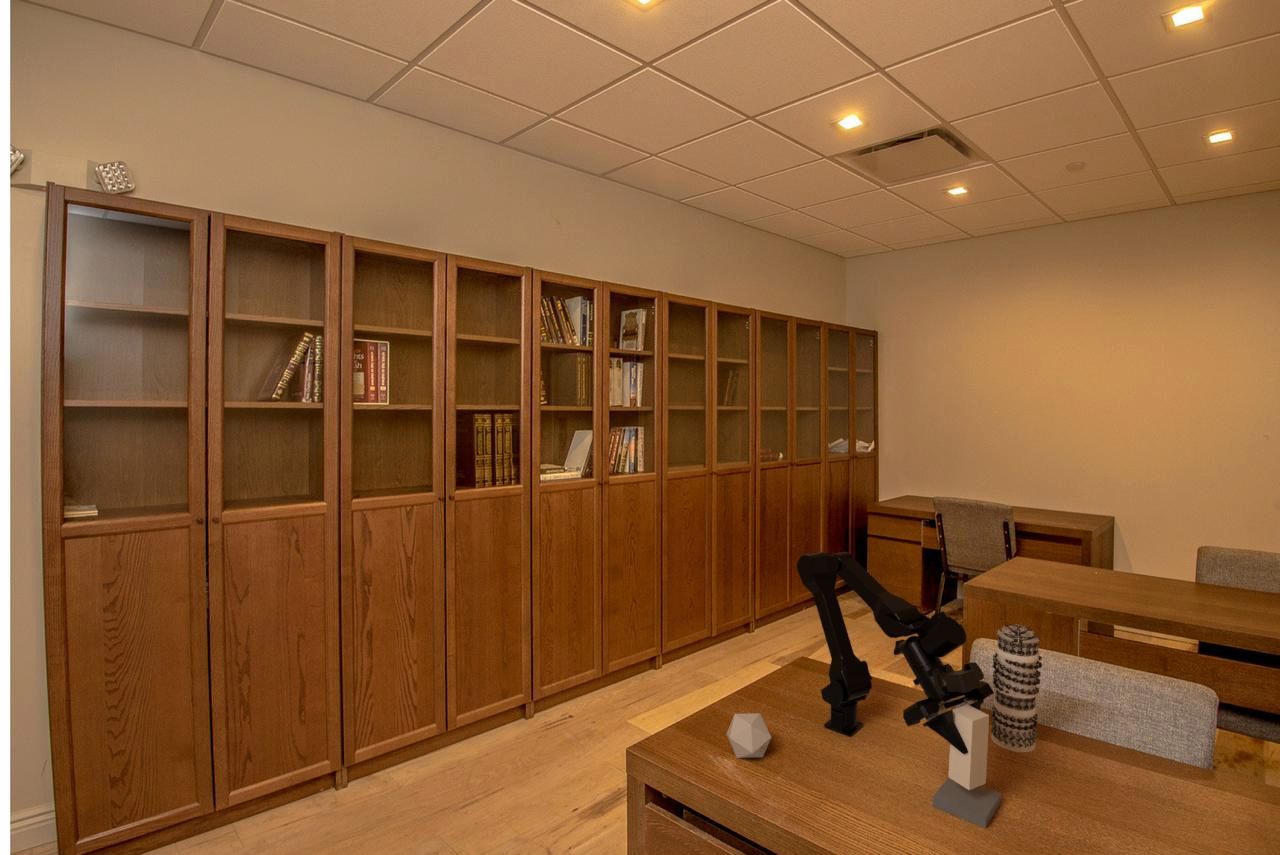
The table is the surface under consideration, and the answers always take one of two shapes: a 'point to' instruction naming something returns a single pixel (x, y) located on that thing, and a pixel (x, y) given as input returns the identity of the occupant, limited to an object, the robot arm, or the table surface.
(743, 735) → the die
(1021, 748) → the decorative candle
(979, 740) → the tall white pillar block
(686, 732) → the table surface
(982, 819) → the plate
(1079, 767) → the table surface
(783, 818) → the table surface
